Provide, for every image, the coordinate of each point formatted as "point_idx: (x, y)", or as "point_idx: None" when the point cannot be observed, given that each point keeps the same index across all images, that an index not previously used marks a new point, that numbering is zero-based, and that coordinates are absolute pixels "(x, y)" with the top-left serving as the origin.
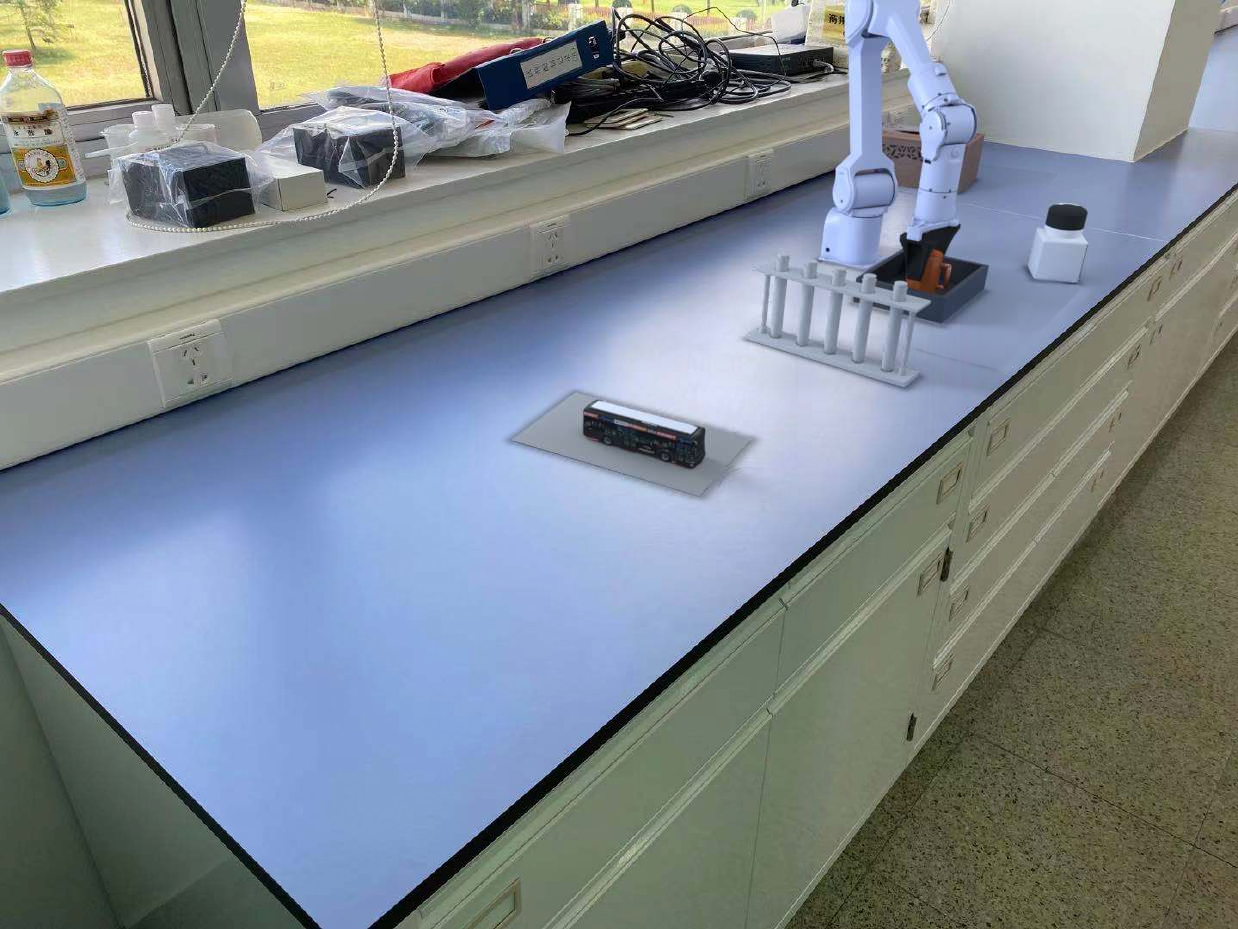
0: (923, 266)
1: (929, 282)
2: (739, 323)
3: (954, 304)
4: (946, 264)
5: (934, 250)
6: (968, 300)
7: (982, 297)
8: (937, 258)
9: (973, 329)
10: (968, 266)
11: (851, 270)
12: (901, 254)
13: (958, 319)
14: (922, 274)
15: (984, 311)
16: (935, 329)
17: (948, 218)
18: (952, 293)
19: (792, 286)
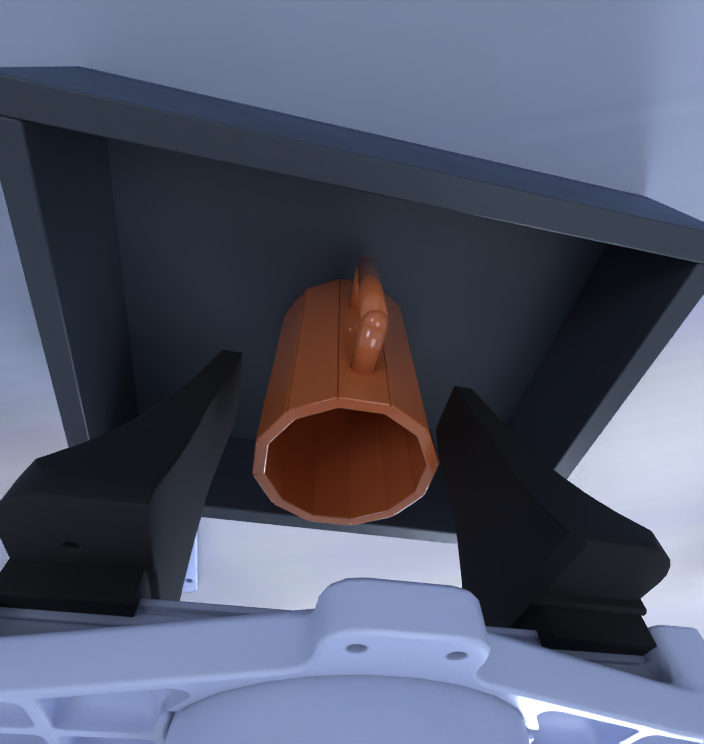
0: (517, 438)
1: (407, 346)
2: (661, 595)
3: (548, 182)
4: (379, 343)
5: (267, 446)
6: (324, 124)
7: (176, 55)
8: (407, 412)
9: (675, 24)
10: (57, 211)
11: (213, 523)
12: None
13: (545, 132)
14: (486, 405)
15: (388, 3)
16: (682, 210)
17: (463, 722)
18: (652, 219)
19: (407, 581)
